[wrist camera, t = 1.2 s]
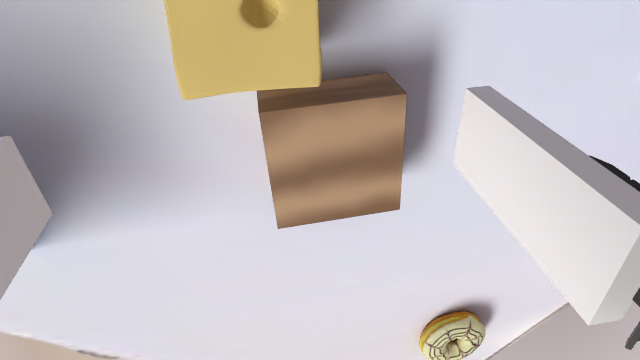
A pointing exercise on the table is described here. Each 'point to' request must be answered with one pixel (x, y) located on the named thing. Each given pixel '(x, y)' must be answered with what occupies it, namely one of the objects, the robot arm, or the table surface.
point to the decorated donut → (452, 336)
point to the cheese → (244, 45)
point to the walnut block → (334, 148)
